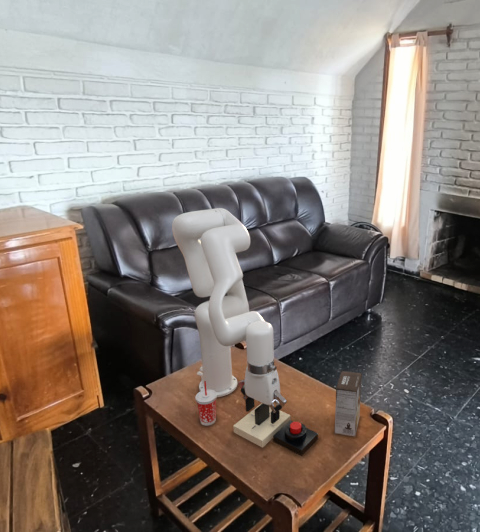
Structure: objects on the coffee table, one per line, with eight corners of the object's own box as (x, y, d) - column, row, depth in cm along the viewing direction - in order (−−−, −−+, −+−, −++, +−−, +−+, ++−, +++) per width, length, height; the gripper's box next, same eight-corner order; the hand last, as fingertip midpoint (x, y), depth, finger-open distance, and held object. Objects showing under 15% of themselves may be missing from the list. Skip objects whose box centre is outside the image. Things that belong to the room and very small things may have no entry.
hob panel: (233, 432, 128) (233, 425, 127) (262, 408, 139) (262, 401, 138) (262, 447, 123) (262, 440, 122) (290, 422, 133) (290, 414, 132)
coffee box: (339, 413, 137) (341, 369, 132) (359, 416, 136) (362, 372, 131) (334, 433, 129) (335, 387, 123) (355, 437, 128) (358, 391, 122)
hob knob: (259, 425, 128) (258, 410, 126) (254, 423, 128) (254, 408, 127) (269, 416, 131) (269, 402, 130) (265, 414, 132) (265, 400, 130)
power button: (287, 431, 124) (287, 426, 124) (294, 425, 127) (294, 420, 126) (296, 435, 123) (296, 430, 122) (303, 429, 125) (303, 424, 124)
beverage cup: (207, 430, 129) (204, 390, 124) (193, 422, 132) (189, 382, 127) (222, 418, 134) (220, 379, 129) (208, 411, 137) (205, 372, 132)
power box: (273, 441, 125) (272, 430, 124) (290, 426, 132) (290, 415, 130) (301, 456, 120) (301, 445, 119) (317, 439, 127) (318, 428, 125)
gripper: (293, 368, 122) (293, 418, 128) (246, 349, 131) (249, 398, 136) (276, 381, 116) (277, 433, 122) (228, 361, 125) (231, 411, 130)
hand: (262, 414), depth 129 cm, fingers open, 9 cm apart
